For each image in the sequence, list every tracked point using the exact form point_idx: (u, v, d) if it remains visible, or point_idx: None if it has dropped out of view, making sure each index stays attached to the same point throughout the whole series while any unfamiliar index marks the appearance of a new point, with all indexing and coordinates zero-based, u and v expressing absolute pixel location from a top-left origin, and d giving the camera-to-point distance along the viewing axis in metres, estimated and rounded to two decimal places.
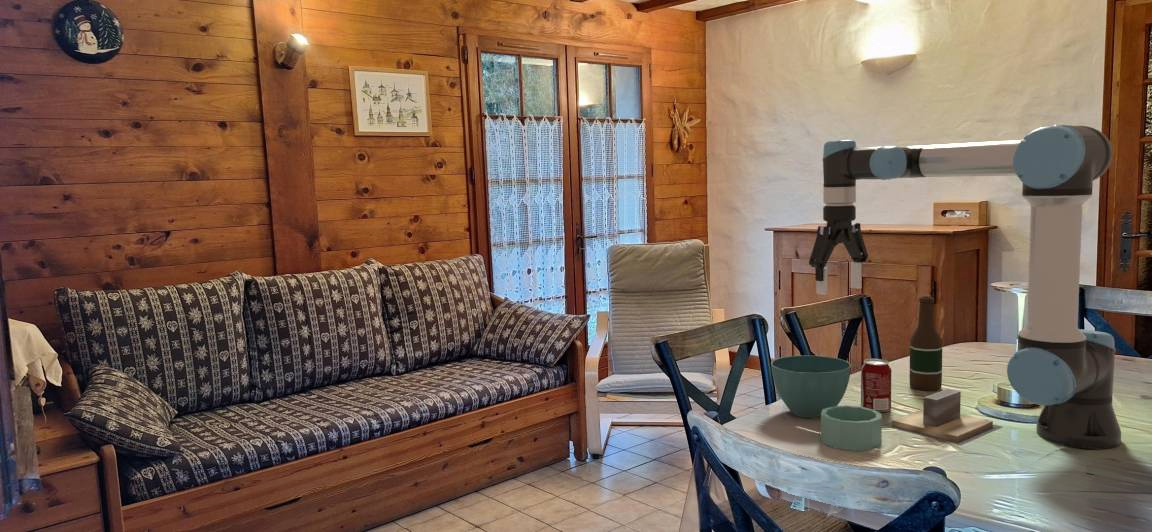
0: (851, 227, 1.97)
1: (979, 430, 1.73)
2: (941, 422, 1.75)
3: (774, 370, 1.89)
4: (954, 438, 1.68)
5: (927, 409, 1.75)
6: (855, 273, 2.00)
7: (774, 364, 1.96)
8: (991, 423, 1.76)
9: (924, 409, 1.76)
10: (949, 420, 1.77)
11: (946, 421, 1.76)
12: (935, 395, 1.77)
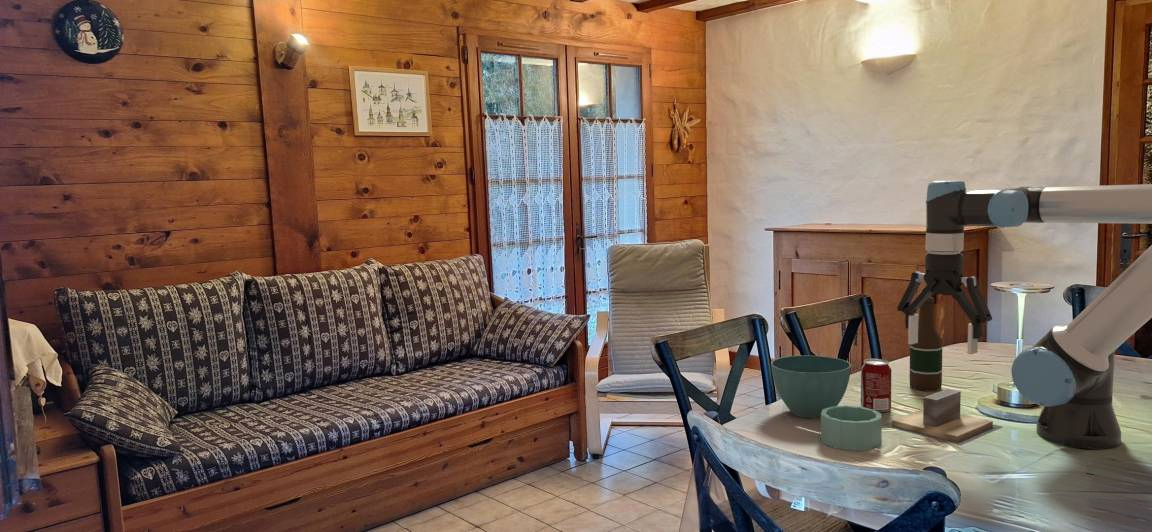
0: (955, 280, 1.71)
1: (979, 430, 1.73)
2: (941, 422, 1.75)
3: (774, 370, 1.89)
4: (954, 438, 1.68)
5: (927, 409, 1.75)
6: None
7: (774, 364, 1.96)
8: (991, 423, 1.76)
9: (924, 409, 1.76)
10: (949, 420, 1.77)
11: (946, 421, 1.76)
12: (935, 395, 1.77)
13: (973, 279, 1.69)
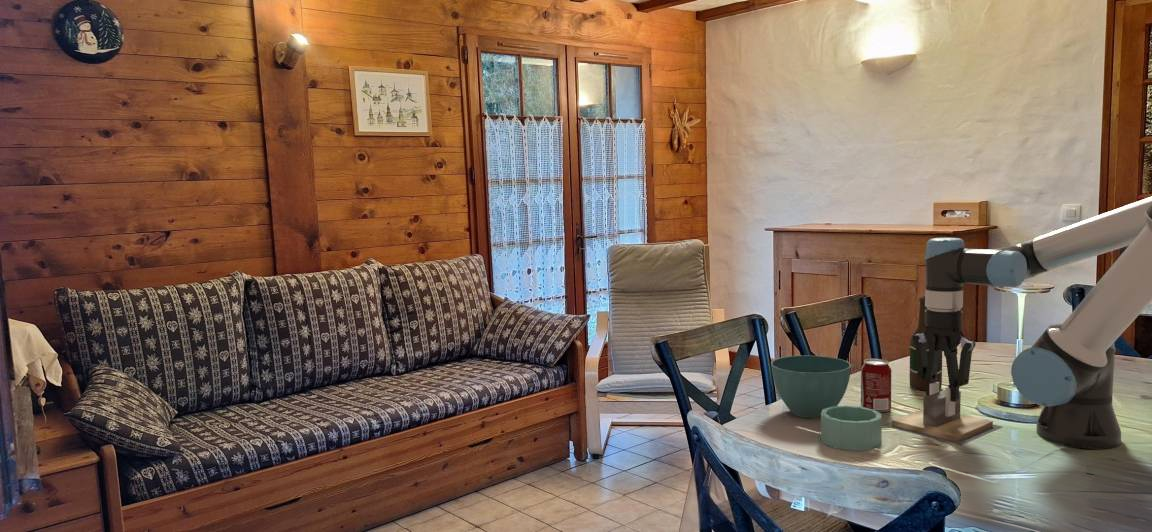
0: (955, 338, 1.73)
1: (979, 430, 1.73)
2: (941, 422, 1.75)
3: (774, 370, 1.89)
4: (954, 438, 1.68)
5: (927, 409, 1.75)
6: None
7: (774, 364, 1.96)
8: (991, 423, 1.76)
9: (924, 409, 1.76)
10: (949, 420, 1.77)
11: (946, 421, 1.76)
12: (935, 395, 1.77)
13: (971, 346, 1.71)
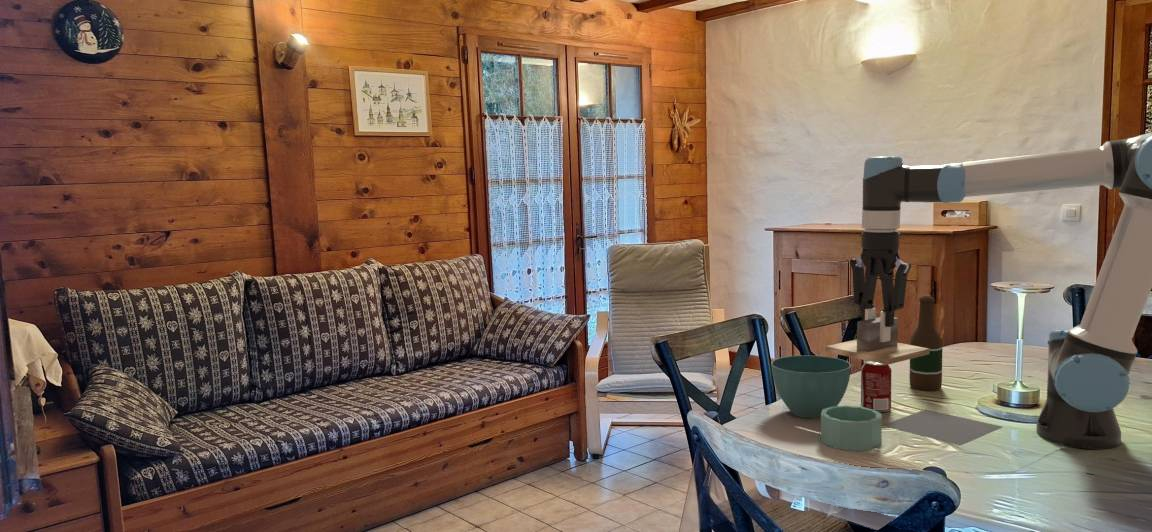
0: (890, 259, 1.67)
1: (913, 356, 1.67)
2: (875, 347, 1.69)
3: (774, 370, 1.89)
4: (884, 361, 1.62)
5: (861, 334, 1.69)
6: None
7: (774, 364, 1.96)
8: (928, 350, 1.70)
9: (858, 334, 1.70)
10: (884, 346, 1.71)
11: (881, 347, 1.70)
12: (870, 320, 1.71)
13: (906, 267, 1.64)
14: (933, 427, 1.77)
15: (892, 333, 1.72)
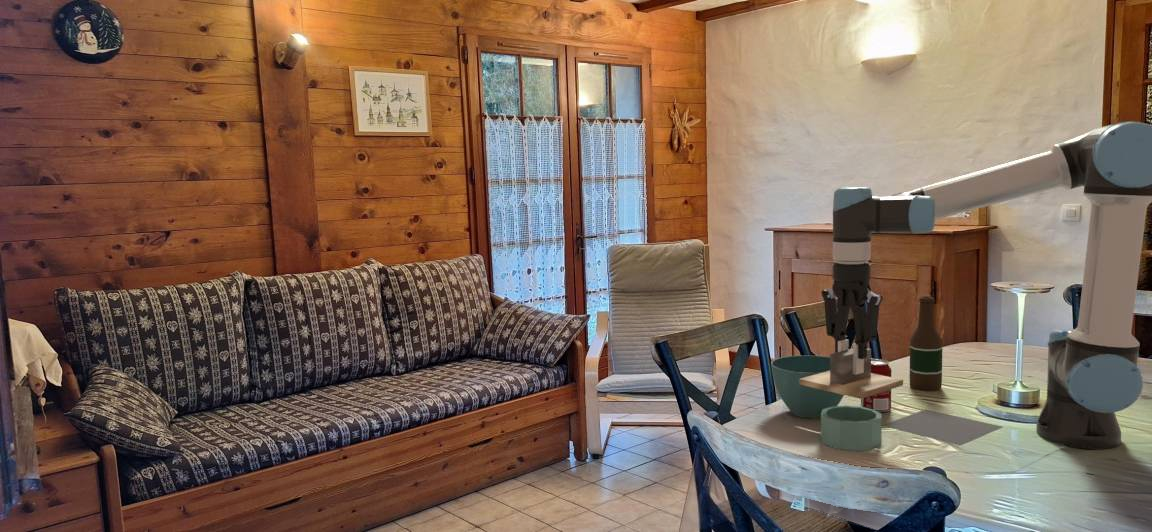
0: (862, 291, 1.65)
1: (887, 388, 1.65)
2: (848, 379, 1.67)
3: (774, 370, 1.89)
4: (858, 395, 1.60)
5: (834, 366, 1.67)
6: None
7: (774, 364, 1.96)
8: (901, 382, 1.68)
9: (831, 366, 1.68)
10: (858, 378, 1.69)
11: (854, 379, 1.69)
12: (843, 352, 1.69)
13: (877, 299, 1.63)
14: (933, 427, 1.77)
15: (865, 364, 1.71)
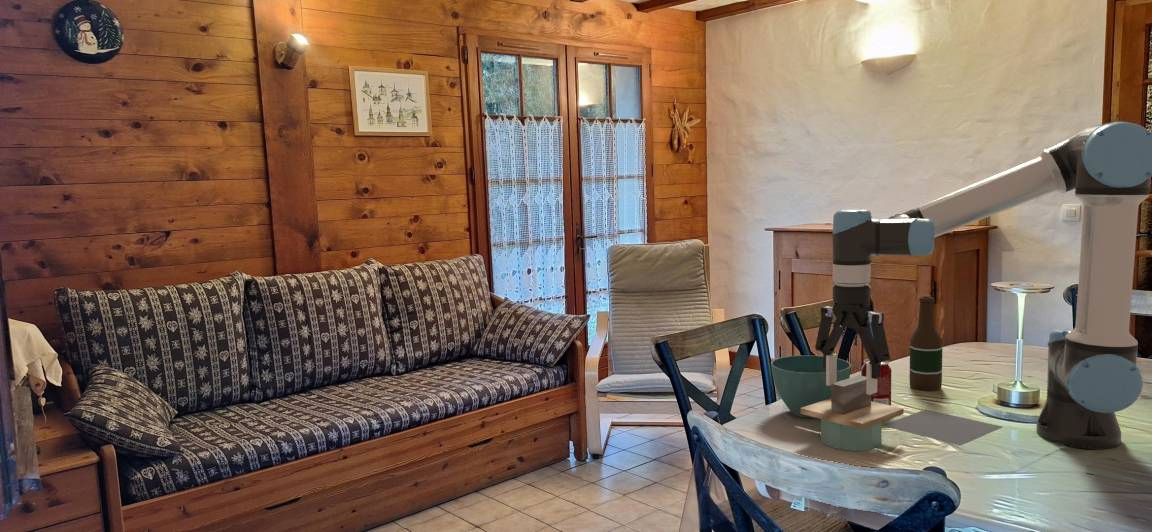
0: (862, 313, 1.65)
1: (888, 418, 1.66)
2: (849, 409, 1.68)
3: (774, 370, 1.89)
4: (859, 426, 1.61)
5: (835, 396, 1.68)
6: None
7: (774, 364, 1.96)
8: (902, 410, 1.69)
9: (832, 396, 1.69)
10: (858, 407, 1.70)
11: (855, 408, 1.69)
12: (844, 381, 1.70)
13: (879, 316, 1.63)
14: (933, 427, 1.77)
15: None
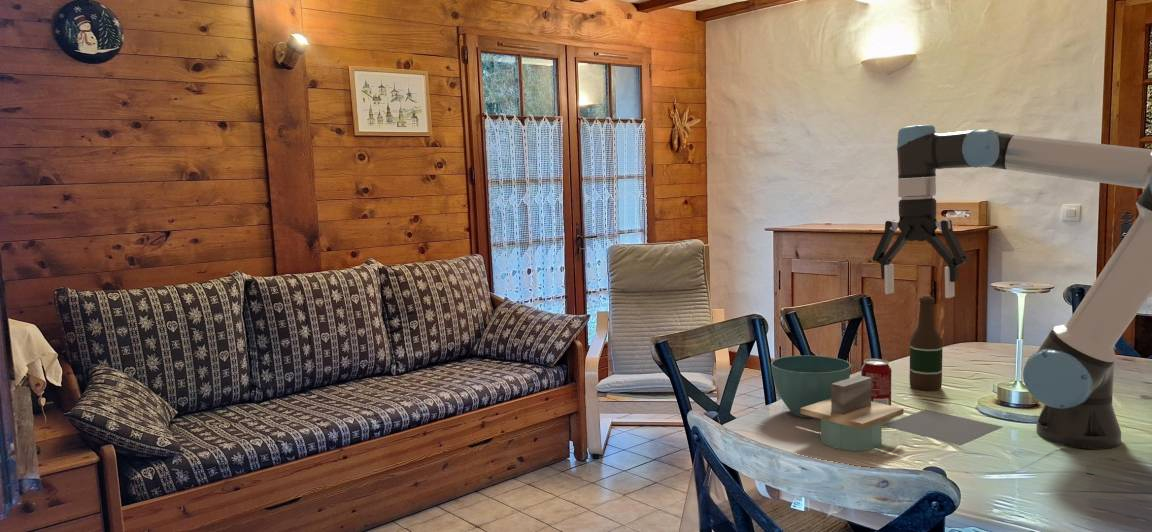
0: (930, 224, 1.71)
1: (888, 418, 1.66)
2: (849, 409, 1.68)
3: (774, 370, 1.89)
4: (859, 426, 1.61)
5: (835, 396, 1.68)
6: None
7: (774, 364, 1.96)
8: (902, 410, 1.69)
9: (832, 396, 1.69)
10: (858, 407, 1.70)
11: (855, 408, 1.69)
12: (844, 381, 1.70)
13: (947, 222, 1.69)
14: (933, 427, 1.77)
15: (866, 393, 1.71)
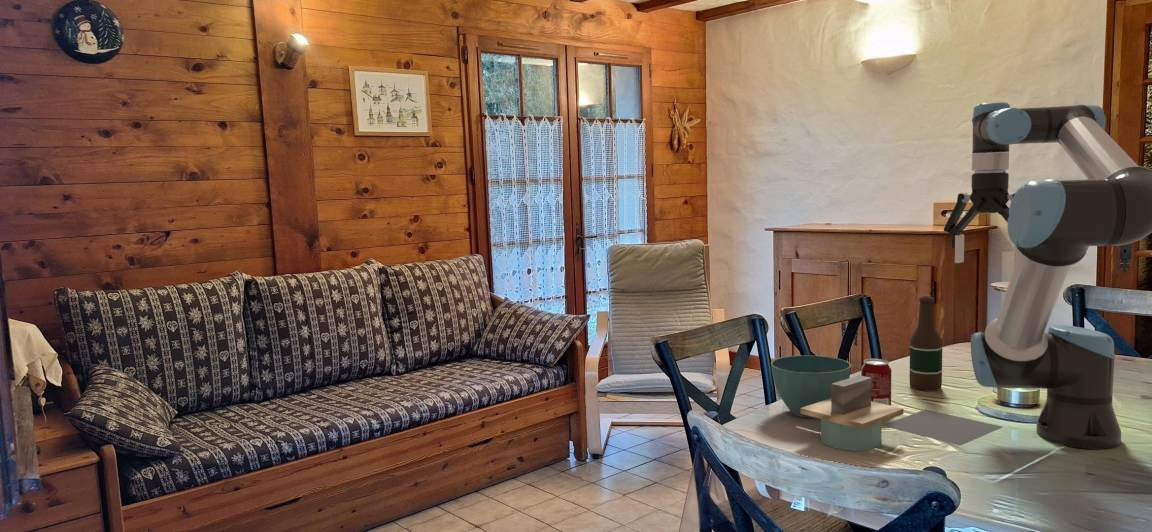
0: (1002, 197, 1.81)
1: (888, 418, 1.66)
2: (849, 409, 1.68)
3: (774, 370, 1.89)
4: (859, 426, 1.61)
5: (835, 396, 1.68)
6: None
7: (774, 364, 1.96)
8: (902, 410, 1.69)
9: (832, 396, 1.69)
10: (858, 407, 1.70)
11: (855, 408, 1.69)
12: (844, 381, 1.70)
13: None
14: (933, 427, 1.77)
15: (866, 393, 1.71)
